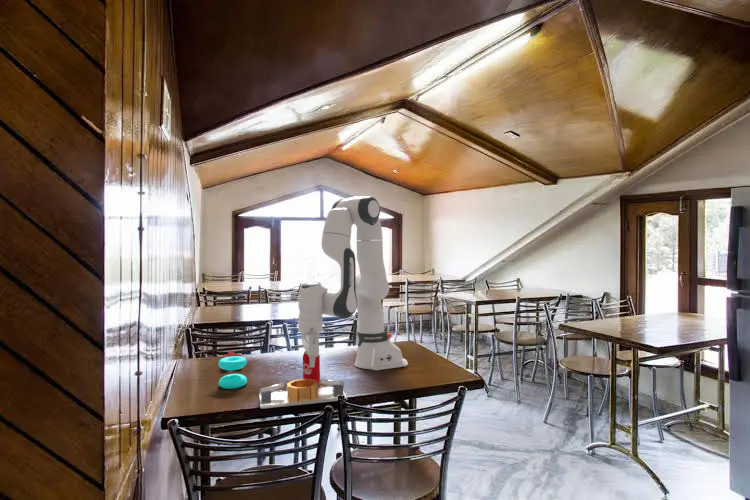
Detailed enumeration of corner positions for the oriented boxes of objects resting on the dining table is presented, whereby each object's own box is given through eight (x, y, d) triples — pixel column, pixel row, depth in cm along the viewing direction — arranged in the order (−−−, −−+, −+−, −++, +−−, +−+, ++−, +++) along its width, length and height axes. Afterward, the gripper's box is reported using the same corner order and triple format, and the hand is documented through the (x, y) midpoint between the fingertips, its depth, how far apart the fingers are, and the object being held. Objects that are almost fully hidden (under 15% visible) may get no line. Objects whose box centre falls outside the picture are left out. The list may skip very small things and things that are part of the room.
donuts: (215, 362, 168) (221, 355, 178) (216, 390, 168) (221, 382, 178) (244, 361, 169) (248, 354, 179) (244, 389, 169) (248, 381, 179)
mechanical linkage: (242, 370, 195) (242, 358, 195) (224, 372, 193) (223, 359, 193) (239, 361, 210) (239, 349, 210) (222, 362, 208) (222, 351, 208)
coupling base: (340, 388, 168) (340, 372, 168) (347, 399, 157) (347, 382, 156) (259, 396, 161) (258, 379, 161) (260, 408, 149) (259, 390, 149)
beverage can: (303, 381, 177) (303, 350, 177) (320, 381, 178) (319, 349, 178) (302, 387, 171) (302, 354, 171) (319, 386, 172) (319, 353, 171)
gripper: (323, 331, 165) (323, 370, 165) (315, 321, 184) (314, 356, 184) (305, 331, 163) (305, 371, 163) (298, 322, 183) (298, 357, 183)
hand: (310, 363), depth 174 cm, fingers open, 8 cm apart
